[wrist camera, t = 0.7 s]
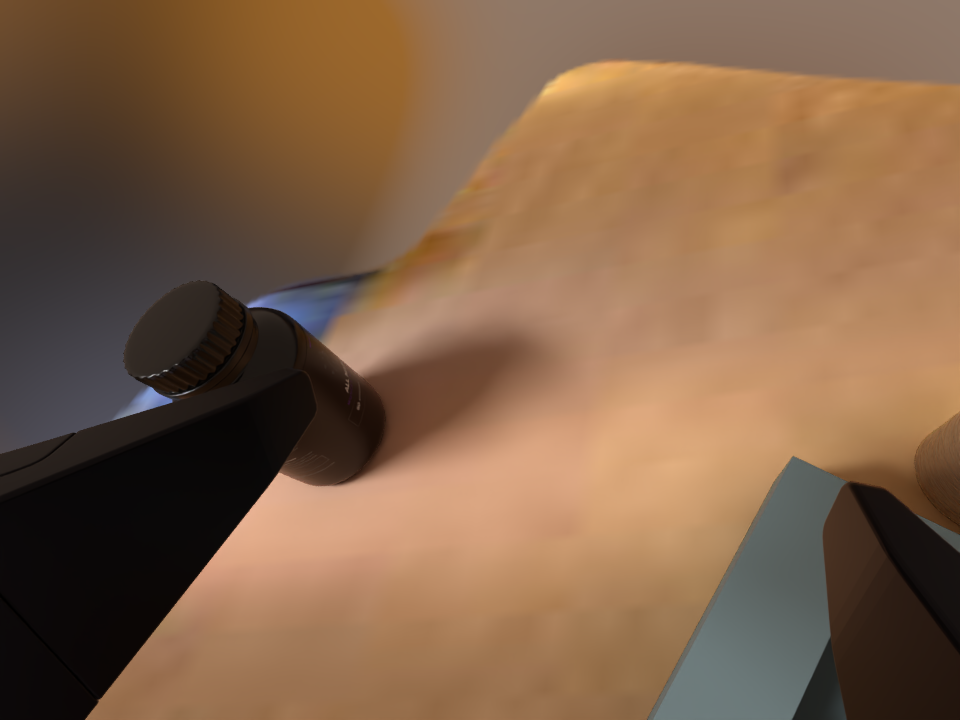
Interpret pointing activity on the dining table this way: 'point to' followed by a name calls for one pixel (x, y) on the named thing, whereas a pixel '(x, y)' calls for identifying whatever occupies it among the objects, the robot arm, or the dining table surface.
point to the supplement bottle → (257, 372)
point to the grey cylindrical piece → (941, 468)
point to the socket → (769, 617)
